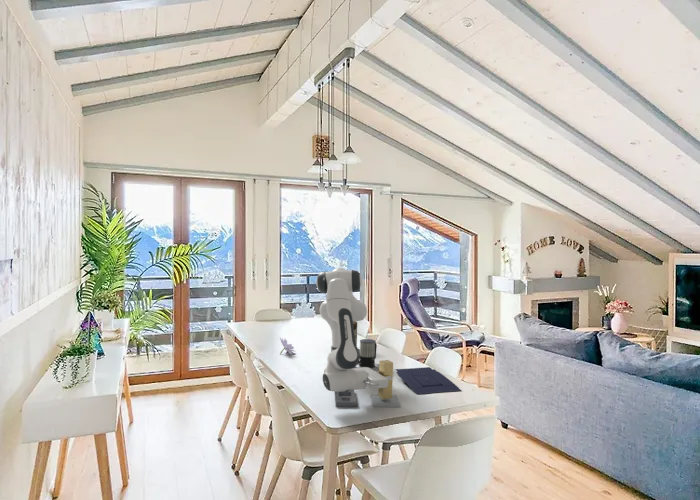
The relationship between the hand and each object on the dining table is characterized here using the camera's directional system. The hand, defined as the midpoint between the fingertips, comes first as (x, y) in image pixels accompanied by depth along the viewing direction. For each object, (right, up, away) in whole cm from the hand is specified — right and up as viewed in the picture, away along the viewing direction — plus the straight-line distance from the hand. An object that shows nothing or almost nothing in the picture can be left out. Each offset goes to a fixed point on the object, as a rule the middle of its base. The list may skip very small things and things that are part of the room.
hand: (387, 375), depth 207 cm
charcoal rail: (-19, -11, +3) cm, 22 cm away
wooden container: (-20, -9, +99) cm, 101 cm away
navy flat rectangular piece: (+21, -12, +28) cm, 37 cm away
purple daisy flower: (-56, -9, +83) cm, 100 cm away
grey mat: (-1, -11, 0) cm, 12 cm away
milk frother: (-10, -10, +61) cm, 63 cm away
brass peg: (-1, -9, 0) cm, 10 cm away
